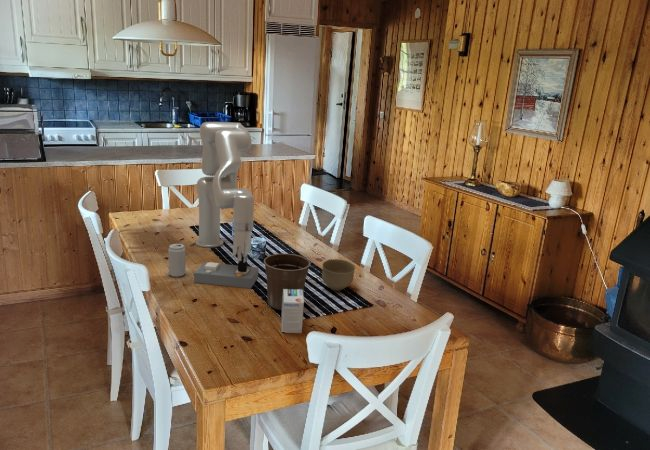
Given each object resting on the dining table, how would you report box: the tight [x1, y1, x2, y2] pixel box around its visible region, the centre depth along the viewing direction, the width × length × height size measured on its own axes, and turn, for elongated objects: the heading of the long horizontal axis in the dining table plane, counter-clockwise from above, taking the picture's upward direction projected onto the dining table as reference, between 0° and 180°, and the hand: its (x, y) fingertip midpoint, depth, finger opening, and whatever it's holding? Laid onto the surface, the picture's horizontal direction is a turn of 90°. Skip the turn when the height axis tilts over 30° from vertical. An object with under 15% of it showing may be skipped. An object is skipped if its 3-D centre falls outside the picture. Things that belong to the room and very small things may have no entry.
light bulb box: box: [280, 289, 305, 334], centre depth 171 cm, size 11×7×11 cm, turn 5°
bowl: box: [321, 258, 356, 291], centre depth 202 cm, size 13×13×10 cm
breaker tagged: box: [235, 269, 249, 275], centre depth 204 cm, size 4×4×3 cm
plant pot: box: [263, 253, 311, 311], centre depth 186 cm, size 16×16×16 cm
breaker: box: [205, 261, 220, 271], centre depth 205 cm, size 4×4×3 cm
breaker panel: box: [193, 261, 259, 289], centre depth 205 cm, size 12×22×5 cm, turn 84°
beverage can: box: [167, 243, 187, 278], centre depth 206 cm, size 6×6×12 cm
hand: (242, 271), depth 204 cm, fingers closed
